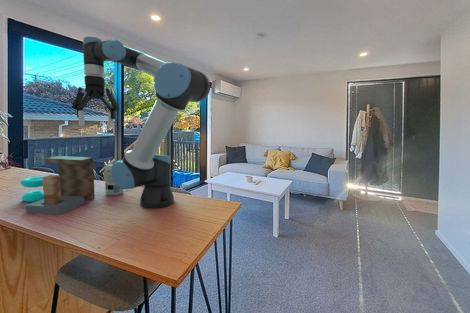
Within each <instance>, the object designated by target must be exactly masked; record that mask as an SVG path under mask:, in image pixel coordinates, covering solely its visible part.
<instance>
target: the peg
mask: <svg viewBox="0 0 470 313" xmlns="http://www.w3.org/2000/svg"><path fill="white" fill-rule="evenodd" d="M41 177H42V179H43V186H42V190H43V193H44V205H55V204H58V203H60V202H61V187H60V176H59V174H58V175H54V174H51V175H46V176H41Z"/></svg>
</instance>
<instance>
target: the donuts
mask: <svg viewBox="0 0 470 313" xmlns="http://www.w3.org/2000/svg"><path fill="white" fill-rule="evenodd" d="M42 177H43V176H32V177H31V176H29V177H26V178H24V179H22V180H21V181H20V185H21V186H22V187H24V188H29V189H30V188H41V187H43V179H42ZM42 199H44V193H43V189H42V190H41V189H40V190H31V191H28V192H26V193H24V194H23V195H22V197H21V200H22V201H23V202H25V203H34V202H36V201H39V200H42Z"/></svg>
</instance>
